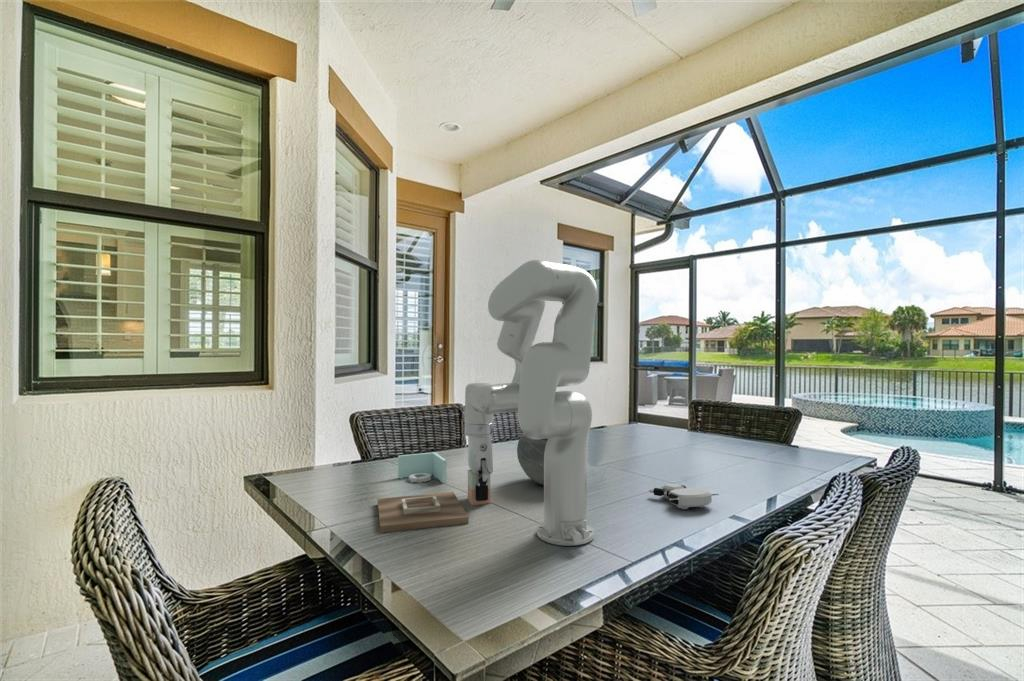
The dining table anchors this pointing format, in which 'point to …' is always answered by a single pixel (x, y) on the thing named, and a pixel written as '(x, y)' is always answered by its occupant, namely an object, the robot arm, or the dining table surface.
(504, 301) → the robot arm
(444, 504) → the walnut board
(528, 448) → the bowl
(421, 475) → the right angle wall
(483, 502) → the stack block
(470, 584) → the dining table surface
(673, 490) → the robot toy
